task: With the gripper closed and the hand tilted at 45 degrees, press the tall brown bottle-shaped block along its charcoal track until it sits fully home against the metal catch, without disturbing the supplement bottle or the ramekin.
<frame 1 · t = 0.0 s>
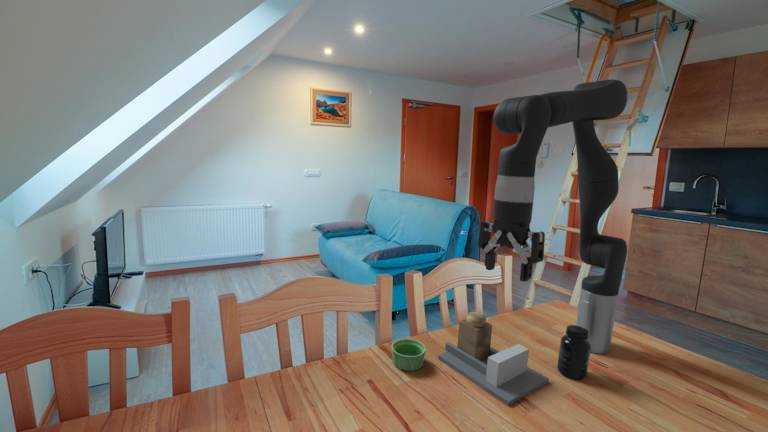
hand: (506, 274, 76), 29 cm above the table, tool pointing down, fingers open, 8 cm apart
brown bottle-shaped block: (474, 335, 96), point 7 cm above the table, slide at 5.0 cm
supplement bottle: (571, 373, 93), on the table
ramekin: (407, 363, 95), on the table
mount: (503, 377, 89), on the table
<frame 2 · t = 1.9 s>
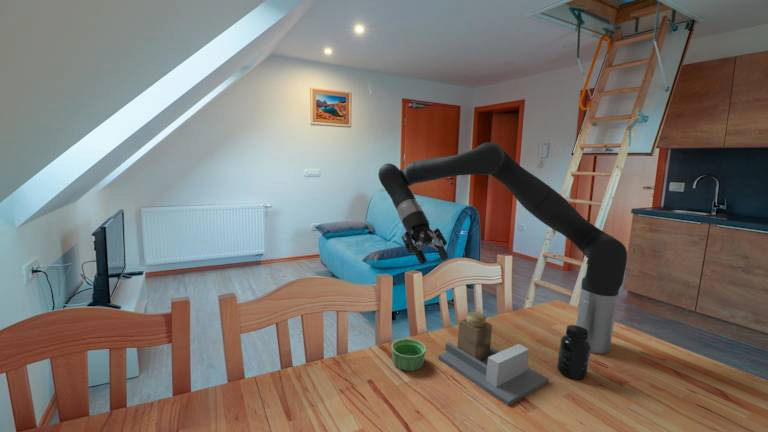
hand: (435, 261, 107), 23 cm above the table, tool tilted 45°, fingers open, 8 cm apart
nothing on the table moved.
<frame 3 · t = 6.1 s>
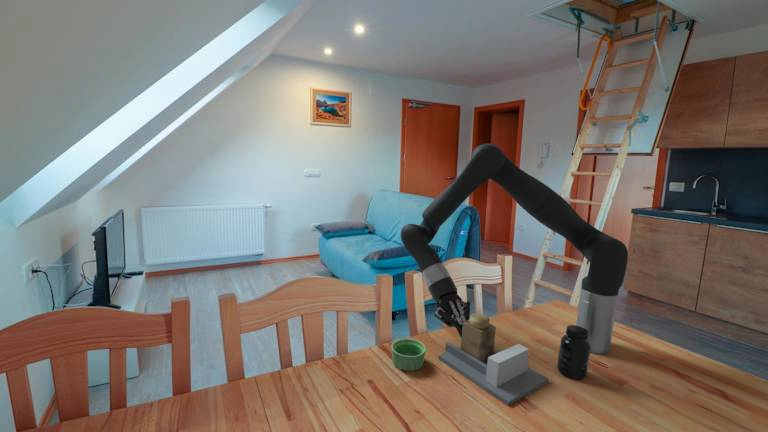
hand: (467, 338, 99), 5 cm above the table, tool tilted 45°, fingers closed
brown bottle-shaped block: (478, 337, 95), point 7 cm above the table, slide at 3.8 cm, touching gripper
everything else where it was.
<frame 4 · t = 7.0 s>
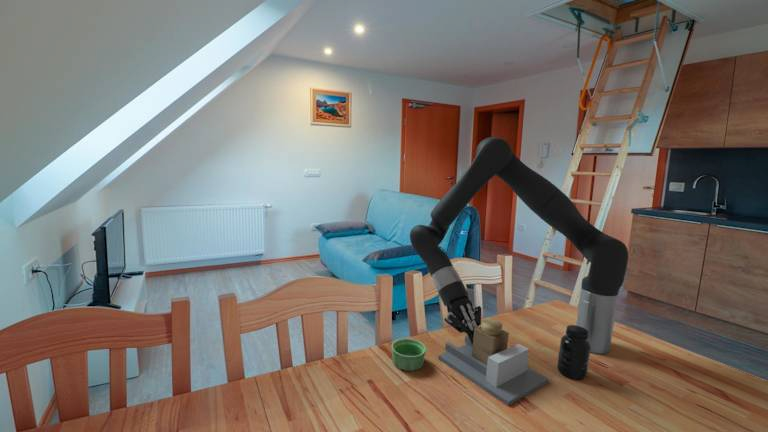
hand: (478, 344, 96), 5 cm above the table, tool tilted 45°, fingers closed
brown bottle-shaped block: (490, 343, 92), point 7 cm above the table, slide at -0.1 cm, touching gripper
everything else where it was.
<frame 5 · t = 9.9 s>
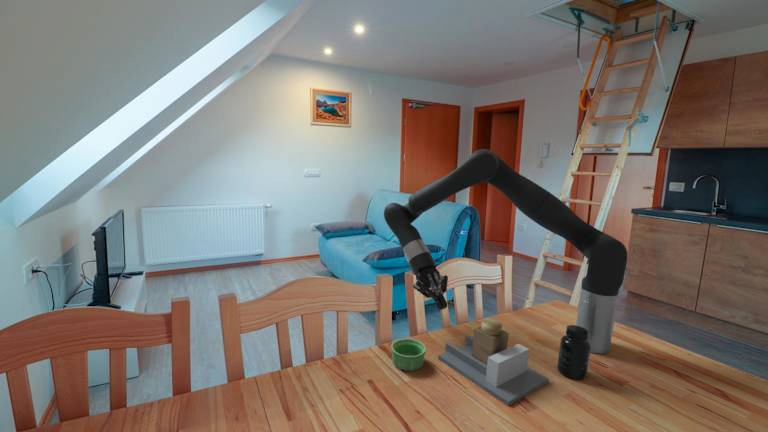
hand: (444, 308, 105), 10 cm above the table, tool tilted 45°, fingers closed
brown bottle-shaped block: (490, 343, 92), point 7 cm above the table, slide at 0.0 cm
everything else where it was.
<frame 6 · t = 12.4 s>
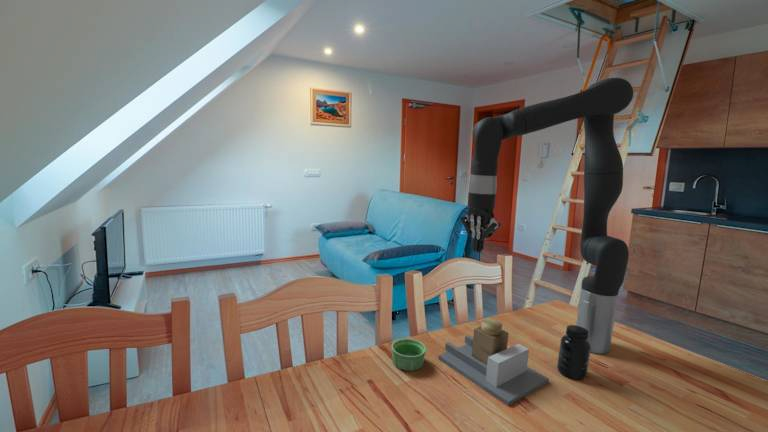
hand: (477, 251, 104), 27 cm above the table, tool pointing down, fingers closed
nothing on the table moved.
at the end: brown bottle-shaped block slide at 0.0 cm; supplement bottle moved 0.2 cm from its start; ramekin moved 0.3 cm from its start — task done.
